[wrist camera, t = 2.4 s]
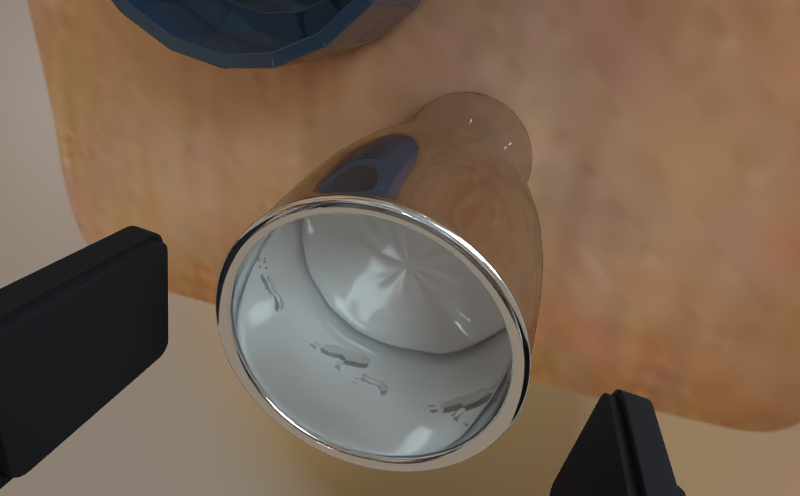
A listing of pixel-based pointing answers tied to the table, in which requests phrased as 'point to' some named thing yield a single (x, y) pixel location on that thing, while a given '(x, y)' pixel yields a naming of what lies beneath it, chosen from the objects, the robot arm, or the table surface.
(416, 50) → the table surface
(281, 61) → the dark blue bowl
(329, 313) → the silver metal tumbler
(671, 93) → the table surface
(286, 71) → the table surface
